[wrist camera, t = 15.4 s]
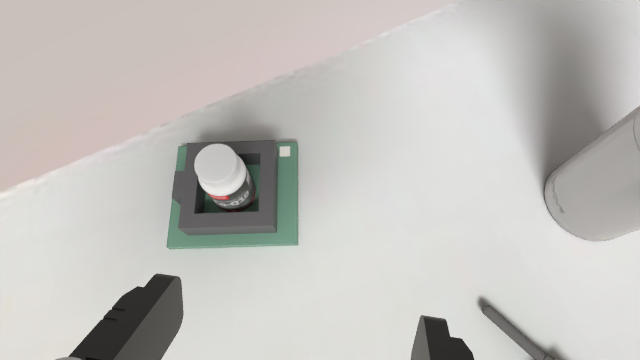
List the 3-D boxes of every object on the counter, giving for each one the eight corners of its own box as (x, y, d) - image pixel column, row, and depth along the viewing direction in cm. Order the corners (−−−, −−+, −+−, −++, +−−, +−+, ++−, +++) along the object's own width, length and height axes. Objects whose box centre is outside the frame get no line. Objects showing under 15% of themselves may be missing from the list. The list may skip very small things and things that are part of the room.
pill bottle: (219, 219, 43) (194, 193, 35) (210, 181, 45) (184, 149, 37) (261, 206, 44) (246, 177, 36) (250, 169, 45) (233, 133, 38)
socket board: (297, 145, 47) (294, 129, 44) (298, 245, 43) (294, 236, 39) (181, 150, 48) (168, 134, 44) (170, 249, 43) (154, 240, 40)
